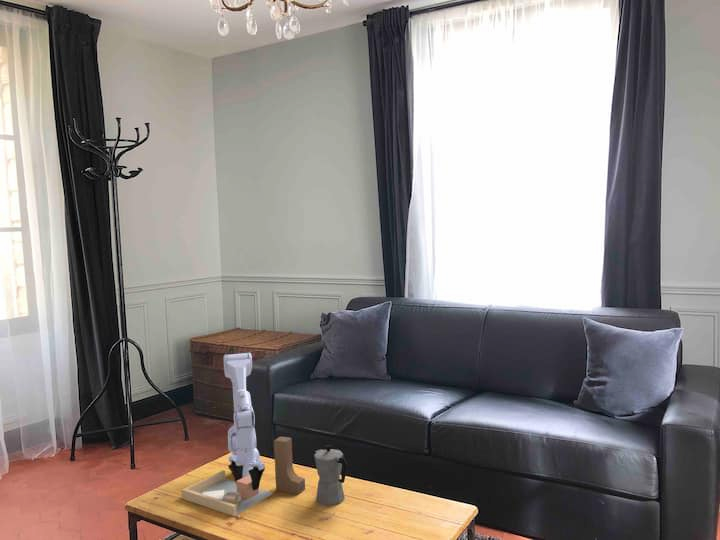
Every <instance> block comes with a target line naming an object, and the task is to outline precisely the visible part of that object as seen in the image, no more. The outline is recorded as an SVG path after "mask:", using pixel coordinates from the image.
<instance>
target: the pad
mask: <svg viewBox="0 0 720 540" xmlns="http://www.w3.org/2000/svg"><path fill="white" fill-rule="evenodd" d="M203 494H204V495H207V496H210V497H213V498H216V499H219V500H222V499H223V496H224V490H217V491H208V492H203Z"/></svg>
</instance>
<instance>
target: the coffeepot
mask: <svg viewBox="0 0 720 540" xmlns="http://www.w3.org/2000/svg"><path fill="white" fill-rule="evenodd" d="M331 447H332V445H330V444H328V445H325V448H326V449H317V450H314V452H315V454H313V456H314V461H315V467H316V472H317V475H318V478H319V479H318V483H317V490H316V496H315V497H316V501H317V502H318V504H320V505H322V506H326V507H327V506H328V507H330V506H336V505H339V504H341V503H343V501H344V499H345V494H344V488H343V484H345V480H346V475H347V471H348V468H349V467H348V462H347V460H346V458H345V457H344V453H343V452H342V451H341V450H339V449H334V448H333V449H332V448H331Z"/></svg>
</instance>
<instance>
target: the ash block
mask: <svg viewBox="0 0 720 540" xmlns="http://www.w3.org/2000/svg"><path fill="white" fill-rule="evenodd" d="M223 501H225V502H228V503H231V504H234V505H236V506H237V508H238V507H239V506H240V505H241V496H240V493H238V492H230V491H229V492H228V493H227V494H226V495H224V496H223Z"/></svg>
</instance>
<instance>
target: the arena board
mask: <svg viewBox="0 0 720 540" xmlns="http://www.w3.org/2000/svg"><path fill="white" fill-rule="evenodd" d="M258 489H259V493H258V494H257V495H255V496H253V497H251V498H249V499H245V498H242V497H241V505H240V506H239V507H238V508H237V506H236V505H234V504H231V503H228V502H225V501H223V499H222V500H219V499H216V498H213V497H210V496H207V495H204V494H203V492H208V491H217V490H224V495H226V494H227V493H228V492H229V491H230V492H237V486H236V482H235V480H234V481H233V480H229V479H227V478H226V470H223V469H222V470H220V471H219V472H216V473H214V474H211V475H210V476H208V477H206V478H204V479H201V480H198V481H197V482H195V483H193V484H191V485H188V486H186V487H184V488H183V489H181V496H182V499H183V500H185V501H189V502H191V503H195V504H197V505H200V506H203V507H206V508H209V509H211V510H214V511H218V512H219V513H220V512H221V513H224V514H226V515H229V516H232V517H235V516H237V515H239V514H241V513H243V512H244V511H246V510H248V509H249V508H252V507H253V506H254V505H256V504H259V503H260V502H262V501H264V500H265V499H267V498H269V497H271V496H272V495H274V494H275V493H273V492H270V491H267V490H262V489H260V488H258Z"/></svg>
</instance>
